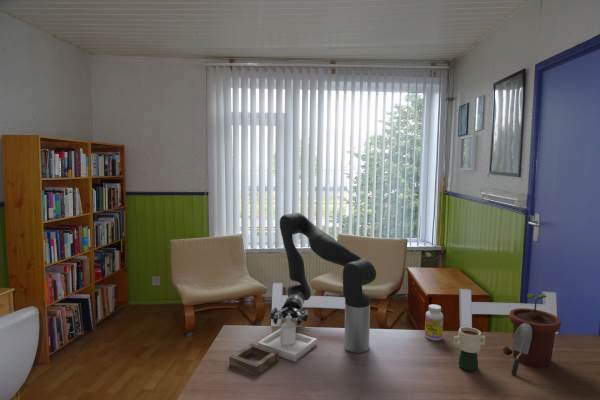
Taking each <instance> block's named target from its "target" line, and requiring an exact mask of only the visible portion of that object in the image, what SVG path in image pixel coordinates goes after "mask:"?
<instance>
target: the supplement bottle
mask: <svg viewBox="0 0 600 400" xmlns="http://www.w3.org/2000/svg"><path fill="white" fill-rule="evenodd" d="M441 311H442V307H441V305H440V304H439V305H438V304H432V303H431V304H429V305H428V310H427V311H426V312H425V324H424V336H425V338H426V339H428V340H430V341H441V340H442V339H443V332H444V331H443V330H444V314H443V313H442V312H441Z"/></svg>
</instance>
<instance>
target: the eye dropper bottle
mask: <svg viewBox="0 0 600 400" xmlns="http://www.w3.org/2000/svg"><path fill="white" fill-rule="evenodd" d="M280 328H281V334H280V344H281V345H282V346H289V345H293V344H295V336H296V333H297V332H296V331H297V323H295V322H293V319H292V316H290V313H288V316H286V318H285V322H283V323H282V324H281V325H280Z"/></svg>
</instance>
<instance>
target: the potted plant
mask: <svg viewBox="0 0 600 400" xmlns="http://www.w3.org/2000/svg"><path fill="white" fill-rule="evenodd" d="M526 298H527V299H529V300H533V301H534V308H528V307H527V308H526V307H525V308H524V307H523V308H522V307H521V308H520V307H519V308H513V309H511V310H510V311H509V322H510V323H512V333H513V334H512V336H513V337H512V346H511V348H509V347H508V346H507V345H506V346H505V347H503V349H502V351H503V354H504V355H511V353H512V354H513V358H514V360H513V364H512V368H511V374H512V375H514V376H517V372H518V368H519V365H520V364H522V365H525V366H529V367H532V368H539V369H541V368H542V369H544V368H548V367H551V365H552V357H553V351H554V346H555V338H556V334H557V332H559V331H560V329H561V324H562V320H561V318H560V317H558V316H557V315H555V314H552V313H551V312H547V311H545V310H539V309H537V301H538V300H539V299H540V300H541V299H544V298H547V295H546V294H545V293H541V294H540V295H539V296H538V297H536V299H535V298H534V294H533V293H527V297H526ZM511 349H512V350H511ZM519 363H520V364H519Z"/></svg>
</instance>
